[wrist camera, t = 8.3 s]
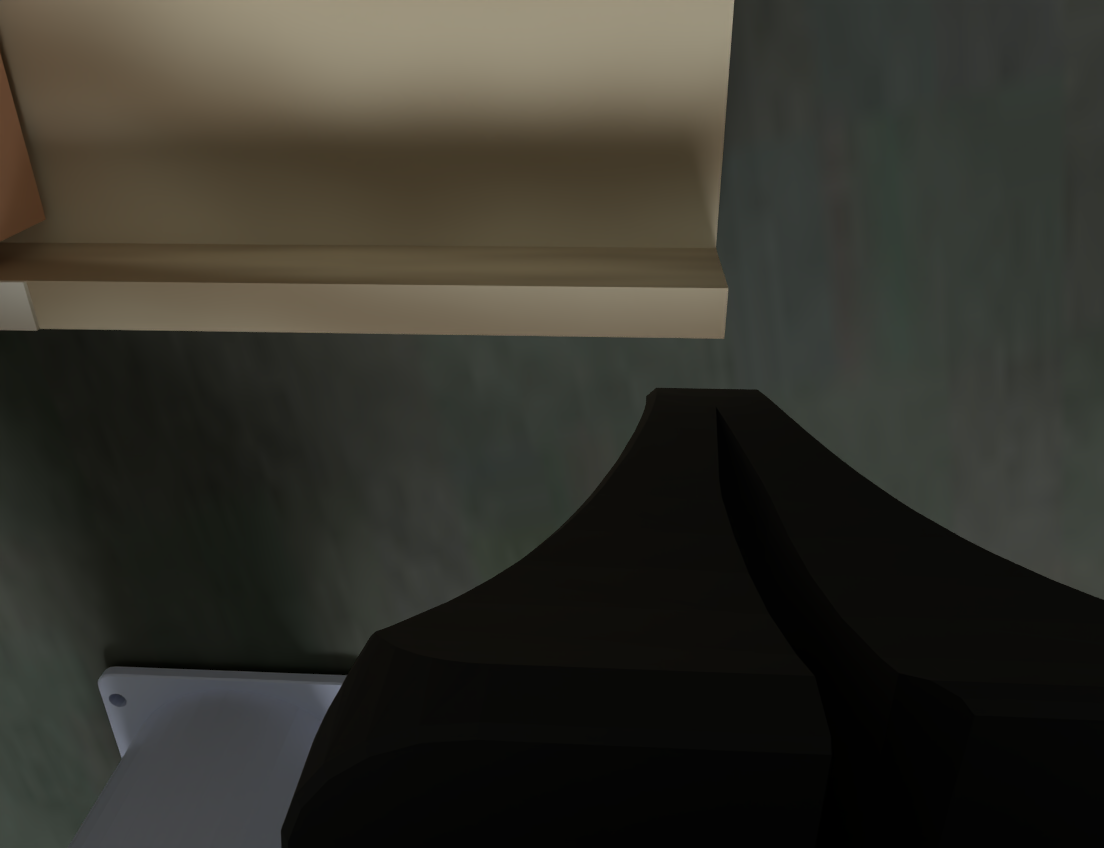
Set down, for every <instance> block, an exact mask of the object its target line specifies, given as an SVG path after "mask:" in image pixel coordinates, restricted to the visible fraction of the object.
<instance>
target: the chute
mask: <svg viewBox="0 0 1104 848" xmlns="http://www.w3.org/2000/svg"><path fill="white" fill-rule="evenodd" d="M733 9H734V0H0V54H1V57H2V61H3V65H4V68H5V72H6V76H7V79H8V83H9V87H10V90H11V94H12V98H13V101H14V105H15V109H16V112H17V116H18V119H19V123H20V127H21V130H22V134H23V138H24V141H25V145H26V149H27V152H28V156H29V160H30V163H31V167H32V171H33V174H34V178H35V182H36V185H37V189H38V192H39V196H40V200H41V203H42V207H43V211H44V214H45V218H46V220H44V221H42V222H40V223H38V224H35V225H33V226H31V227H29V228H27V229H25V230H23V231H21V232H19V233H17V234H15V235H13V236H11V237H9V238H7V239H5V240H3V241H0V330H24V331H37V330H39V329H89V330H159V331H230V332H300V333H370V334H440V335H510V336H580V337H651V338H721V339H724V335H725V323H726V311H727V299H728V286H727V282H726V279H725V276H724V273H723V270H722V266H721V263H720V260H719V257H718V254H717V251H716V238H717V225H718V211H719V198H720V184H721V171H722V157H723V144H724V130H725V117H726V103H727V90H728V76H729V63H730V49H731V36H732V23H733Z"/></svg>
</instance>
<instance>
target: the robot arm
mask: <svg viewBox="0 0 1104 848" xmlns="http://www.w3.org/2000/svg"><path fill="white" fill-rule="evenodd" d="M98 687H99V690H100V693H101V696H102V699H103V702H104V705H105V709H106V712H107V715H108V718H109V721H110V724H111V727H112V730H113V733H114V736H115V739H116V742H117V745H118V748H119V752H120V755H121V758H122V759H121V761H120V762H119V764H118V766H117V767H116V769H115V771H114V772H113V774H112V776H111V777H110V779H109V780H108V782H107V784H106V785H105V787H104V789H103V790H102V792H101V794H100V795H99V797H98V799H97V800H96V802H95V803H94V805H93V807H92V808H91V810H90V812H89V813H88V815H87V817H86V818H85V820H84V822H83V823H82V825H81V826H80V828H79V830H78V831H77V833H76V835H75V836H74V838H73V840H72V841H71V843H70V845H69V846H68V848H1104V600H1102V599H1099V598H1097V597H1094V596H1091V595H1089V594H1086V593H1084V592H1081V591H1079V590H1076V589H1074V588H1071V587H1069V586H1066V585H1064V584H1061V583H1059V582H1056V581H1054V580H1051V579H1049V578H1046V577H1044V576H1042V575H1040V574H1038V573H1035V572H1033V571H1031V570H1029V569H1027V568H1024V567H1022V566H1020V565H1018V564H1015V563H1013V562H1011V561H1009V560H1007V559H1004V558H1002V557H1000V556H998V555H995V554H993V553H991V552H989V551H987V550H985V549H983V548H981V547H979V546H977V545H975V544H973V543H971V542H969V541H967V540H965V539H964V538H962V537H960V536H958V535H956V534H955V533H953V532H951V531H949V530H948V529H946V528H944V527H942V526H940V525H939V524H937V523H935V522H933V521H932V520H930V519H928V518H926V517H925V516H923V515H921V514H919V513H917V512H916V511H914V510H913V509H911V508H909V507H908V506H906V505H905V504H903V503H901V502H900V501H898V500H897V499H895V498H894V497H892V496H891V495H889V494H888V493H887V492H885V491H884V490H882V489H881V488H879V487H878V486H877V485H875V484H874V483H872V482H871V481H869V480H868V479H866V478H865V477H864V476H862V475H861V474H859V473H858V472H857V471H855V470H854V469H853V468H851V467H850V466H849V465H847V464H846V463H845V462H843V461H842V460H841V459H840V458H838V457H837V456H836V455H835V454H833V453H832V452H831V451H829V450H828V449H827V448H826V447H825V446H823V445H822V444H821V443H820V442H818V441H817V440H816V439H815V438H814V437H813V436H811V435H810V434H809V433H808V432H807V431H805V430H804V429H803V428H802V427H801V426H800V425H798V424H797V423H796V422H795V421H794V420H793V419H792V418H790V417H789V416H788V415H787V414H786V413H785V412H784V411H782V410H781V409H780V408H779V407H778V406H777V405H776V404H774V403H773V402H772V401H771V400H770V399H769V398H767V397H766V396H765V395H764V394H762V393H761V392H760V391H758V390H744V389H688V388H656V389H654V390H653V391H652V392H651V393H650V394H649V395H647V396H646V406H645V410H644V412H643V415H642V417H641V420H640V422H639V424H638V426H637V428H636V430H635V432H634V434H633V435H632V437H631V439H630V440H629V442H628V444H627V445H626V447H625V449H624V450H623V452H622V454H621V455H620V457H619V459H618V460H617V462H616V463H615V464H614V466H613V467H612V468H611V470H610V471H609V472H608V474H607V475H606V476H605V478H604V479H603V480H602V482H601V483H600V484H599V486H598V487H597V488H596V490H595V491H594V492H593V493H592V494H591V496H590V497H589V498H588V499H587V500H586V501H585V502H584V504H583V505H582V506H581V507H580V508H579V509H578V510H577V511H576V512H575V513H574V514H573V515H572V516H571V517H570V518H569V519H568V520H567V521H566V522H565V523H564V524H563V525H562V526H561V527H560V528H559V529H558V530H557V531H556V532H555V533H553V534H552V535H551V536H550V537H549V538H547V539H546V540H545V541H544V542H543V543H541V544H540V545H539V546H538V547H537V548H535V549H534V550H533V551H532V552H530V553H529V554H528V555H527V556H525V557H524V558H523V559H521V560H520V561H518V562H517V563H515V564H514V565H512V566H511V567H509V568H508V569H506V570H504V571H503V572H501V573H500V574H498V575H496V576H495V577H493V578H492V579H490V580H488V581H486V582H484V583H483V584H481V585H479V586H477V587H475V588H474V589H472V590H470V591H468V592H466V593H464V594H462V595H460V596H458V597H456V598H454V599H452V600H450V601H448V602H446V603H444V604H442V605H439V606H437V607H435V608H432V609H430V610H428V611H425V612H423V613H421V614H418V615H416V616H414V617H411V618H409V619H407V620H404V621H402V622H400V623H397V624H395V625H393V626H390V627H387V628H385V629H382V630H379V631H376V632H375V633H374V634H373V635H372V636H371V637H370V638H369V640H368V642H367V643H366V645H365V646H364V648H363V650H362V651H361V653H360V655H359V656H358V658H357V660H356V661H355V663H354V665H353V666H352V668H351V670H350V671H349V673H348V675H326V674H300V673H273V672H247V671H221V670H195V669H169V668H143V667H117V666H115V667H109V668H107V669H106V670H105V671H104V672H103V673H102V675H101V676H100V678H99V680H98ZM121 695H122V696H121Z"/></svg>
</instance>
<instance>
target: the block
mask: <svg viewBox="0 0 1104 848" xmlns="http://www.w3.org/2000/svg"><path fill="white" fill-rule="evenodd" d="M44 220H46V218H45V214H44V211H43V207H42V203H41V200H40V196H39V192H38V189H37V185H36V182H35V178H34V174H33V171H32V167H31V163H30V160H29V156H28V152H27V149H26V145H25V141H24V138H23V134H22V130H21V127H20V123H19V119H18V116H17V112H16V109H15V105H14V101H13V98H12V94H11V90H10V87H9V83H8V79H7V76H6V72H5V68H4V65H3V61H2V57H1V54H0V241H3V240H5V239H7V238H9V237H11V236H13V235H15V234H17V233H19V232H21V231H23V230H25V229H27V228H29V227H31V226H33V225H35V224H38V223H40V222H42V221H44Z"/></svg>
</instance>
